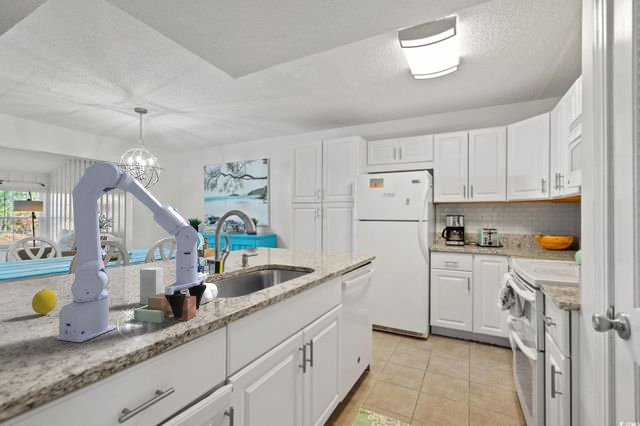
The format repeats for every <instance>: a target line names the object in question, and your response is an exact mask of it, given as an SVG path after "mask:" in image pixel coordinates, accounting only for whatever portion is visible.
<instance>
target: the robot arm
mask: <svg viewBox="0 0 640 426" xmlns="http://www.w3.org/2000/svg"><path fill="white" fill-rule="evenodd" d="M83 173H84V174H83V175H82V176H81V178H80V179H79V180H78V182H77V184H76V185H75V187H74V188H73V190H72V194H71V195H72V211H73V221H74V222H73V223H74V234H75V247H76V257H77V261H76V262H77V264H76V265H75V266H76V267H75V271H74V280H73V283H72V284H71V287H70V289H71V290H70V292H71V294H72V295H73V298H72V299H73V300H72V301H71V302H70V303H68V304H66V305H63V306H62V307H61V309H60V310H59V314H58V322H59V323H58V336H56V340H61V341H67V342H68V341H69V342H73V343H74V342H75V343H83V342H85V341H88V340H90V339H94V338H95V337H98V336H100V335H103V334H105V333H107V332H110V331H113V330H115V329H118V325H112V324H109V323H110V316H109V315H110V294H109V292H108V291H107V289H106V288H107V287H108V286H109V284H110V281H111V279H110V278H111V277H110V275H109V273H108V272H107V271H106V270H105V269H106V267H105V263H104V261H103V258H102V255H103V254H102V245H101V243H102V242H101V233H100V231H101V230H100V219H99V217H100V216H99V207H98V200H99V199H100V198H102V197H103V196H104V195H105V194H107V193H108V192H111V191H113V190H116V189H118V190H121V191H123V192H127V193H130V194H131V195H133V197H135V198H136V200H138V201H139V202H141V203H142V204H143V205H145V207H146V208H147V209H148V210H149V211H151V212H152V213H153V220H154V222H155V223H157V225H159V226H160V228H162V229H163V230H164V231H165V232H167V233H168V234H169V235H170V236H174V238H175V241H176V242H177V243H176V252H175V282H173V283H172V284H170V285H167V286H166V287H165V288H164V293H165V297H166V299H167V300H168V302H169V304H170V306H171V308H172V312H173V315H172V316H173V318H175V319H177V318H181V317H182V314H183V303H184V299H185V296H186V294H187V293H182V292H181V291H184V290H186V289H187V291H188V290H189V294H190V296H196V311H198V310H200V309H199V308H200V305H201V304H200V302H201V298H202V296H203V293H204V291H205V289H206V288H207V285H203V284H204V283H205V284H206V280H205V277H197V273H198V250H197V248H198V244H197V243H198V241H199V239H200V236H199V234H198V231H197V229H195V228H194V227H193V226H192V225H191V222H190V221H189V220H186V219H184V217H182V216H181V215H180V214H179V210H178V209H177V208H176V207H174V208H173V207H172V206H171V205H163V204H161V203H160V201H159V200H157V199H156V197H154V196H153V194H152V193H150V192H149V191H148V189H146V188H145V187H144V186H143V185H142V183H141V182H139V181H138V180H137V179H136V178H134V177H133V176H132V175H130V174H129V173H128V172H126V171H125V170H123V169H121V168H119V167H118V165H117V164H116V163H114V162H112V161H109V160H100V161H99V160H98V161H97V162H95V163H93V164H91V165H90V166H88V167H86V168H85V171H84V172H83Z"/></svg>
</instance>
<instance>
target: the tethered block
mask: <svg viewBox="0 0 640 426" xmlns="http://www.w3.org/2000/svg"><path fill="white" fill-rule="evenodd" d="M147 305H148V309H149V310H160V311H164V319H166V318H167V317H170V316H174V315H173V312H172V308H171V306H170V304H169V302H168V300H167V299H166V297H165V292H163V293H160V294H157V295H154V296H151V297H148V304H147ZM196 317H197V310H196V296H185V299H184V303H183V314H182V317H181V318H176V319H177V320H178V321H187V322H188V321H190V320H192V319H195V318H196Z"/></svg>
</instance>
